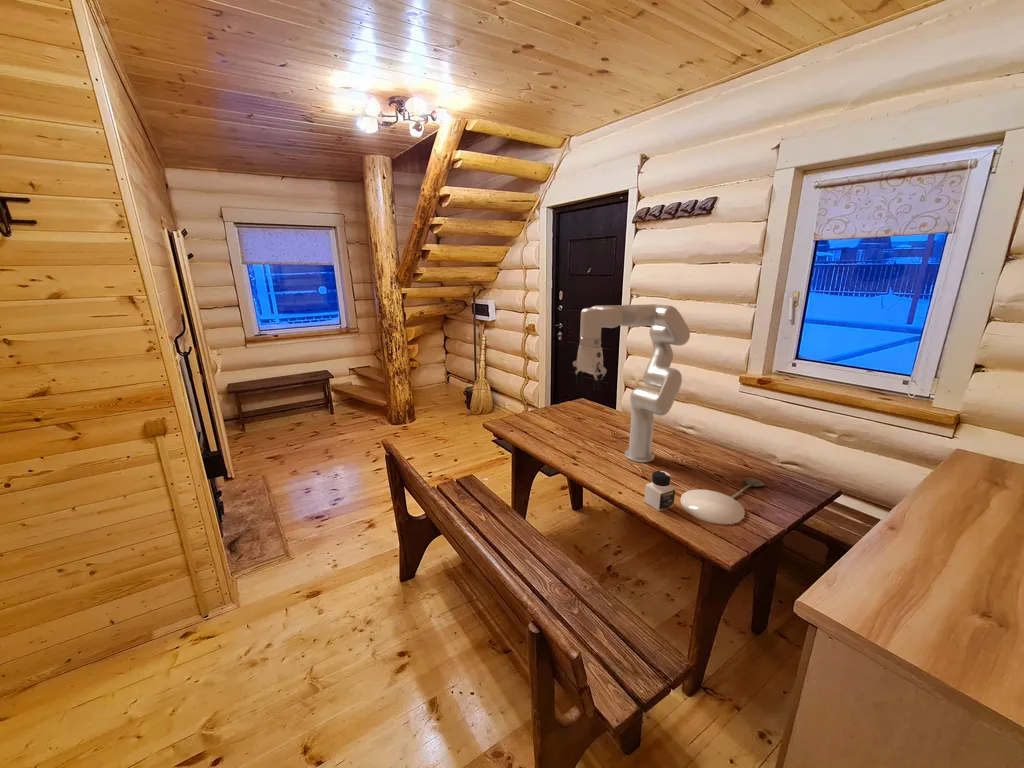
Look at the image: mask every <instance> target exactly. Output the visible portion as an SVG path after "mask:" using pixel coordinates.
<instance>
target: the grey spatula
mask: <svg viewBox="0 0 1024 768" xmlns="http://www.w3.org/2000/svg"><path fill="white" fill-rule="evenodd" d="M744 481H745V483H746V484H747V485H745V486H744V487H743V488H741V489H740V490H739V491H738V492H737V493H733V495H732V496H730V495H729V497H731V498H733V499H734V500H735V498H736V497H737V496H738V495H740V494H741V493H743V492H744V491H745V490H747V489H748V488H750V487H763V486H765V483H764V482H762V481H761V480H759V479H757V478H754V477H747V478H745V479H744Z"/></svg>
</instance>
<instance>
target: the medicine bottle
mask: <svg viewBox="0 0 1024 768" xmlns="http://www.w3.org/2000/svg"><path fill="white" fill-rule="evenodd" d="M651 475H652V477H651V482H649V483H646V484H645V489H644V499H643V501H644V503H645V504H647V505H649V506H650V507H651V508H653V509H655V510H656V511H658V512H661V511H664V510H667V509H669V508H673V507H675V506H674V503H675V497H676V496H675V495H676V488H675V487H674V486H672V485H671V479H672V476H671V474H670V473H668V472H666V471H665V470H655V471H653V472H652V474H651Z"/></svg>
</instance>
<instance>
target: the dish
mask: <svg viewBox="0 0 1024 768" xmlns="http://www.w3.org/2000/svg"><path fill="white" fill-rule="evenodd" d="M680 506H681V507H682V508H683V510H684V511H685V512H687V513H688V514H689V515H690V516H692V517H694V518H696V519H698V520H700V521H703V522H706V523H710V524H715V525H725V526H730V525H736V524H738V522H739V523H740V522H742V521H743V520H744V518H745V513H746V512H745V508H744V506H743V505H742V504H741V503H740V502H739V501H737V500H736V499H735V498H734V499H733V498H731V497H730V495H727V494H725V493H722V492H719V491H713V490H709V489H690V490H687V491H685V492H682V494H681V497H680ZM742 519H743V520H742ZM741 520H742V521H741ZM735 523H736V524H735ZM728 524H729V525H728Z"/></svg>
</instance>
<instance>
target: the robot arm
mask: <svg viewBox="0 0 1024 768" xmlns="http://www.w3.org/2000/svg"><path fill="white" fill-rule="evenodd" d="M618 326H621V327H627V328H628V327H629V328H630V327H631V328H633V327H634V328H635V327H650V328H649V336H650V340H651V343H652V354H651V356H650V359H649V362H648V364H647V366H646V368H645V371H644V373H643V375H642V376H643V377H642V380H643V382H644V384H645V385H647V386H650V387H653V388H657V389H660V391H658V390H655V389H652V388H648V387H644V386H638V387H636V388H634V389H633V390H632V391H631V393H630V396H629V401H630V402H629V403H630V411H631V413H630V429H629V442H628V449H626V450H625V451H624V456H625V457H626V459H628V460H629V461H632V462H637V463H651V462H652V461H654V460H655V454H654V453H653V452H652V447H653V446H652V445H653V438H654V437H653V435H654V427H655V426H654V425H655V417H654V415H656V416H659V417H661V416H662V417H663V416H665V415H667V414H668V413H669V412H670V410H671V409H672V407H673V404H674V402H675V400H676V398H677V395H678V392H679V391H680V389H681V385H682V382H683V381H682V380H683V378H682V373H681V372H680V370H679V369H677V368H673V367H671V364H672V361H673V358H674V353H673V349H672V346H676V347H677V346H683V345H686V344H687V343H688V342H689V340H690V338H691V337H690V336H691V331H690V327H689V326H688V324H687V323H686V321H685V320H684V317H683V316H682V314H681V313H680V312H679V310H678V309H677V308H676V307H675V306H673V305H668V304H666V305H664V304H654V303H653V304H647V303H646V304H622V305H619V304H618V305H616V304H615V305H613V304H612V305H594V306H591V307H585V308H583V309H582V310H581V312H580V331H579V345H578V349H577V355H576V360H574V361H572V365H573V370H574V373H575V385H583V384H584V373H586V374H589V375H592V376H593V378H594V380H593V387H592V388H593V389H592V390H593V391H595V392H597V391H601V389H602V380H604V377H605V376H606V374H607V372H608V371H607V368H606V367H605V366H604V355H603V353H604V352H603V347H602V346H601V345H602V328H607V329H608V328H609V329H613V328H614V329H615V328H617V327H618ZM671 345H672V346H671Z"/></svg>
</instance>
